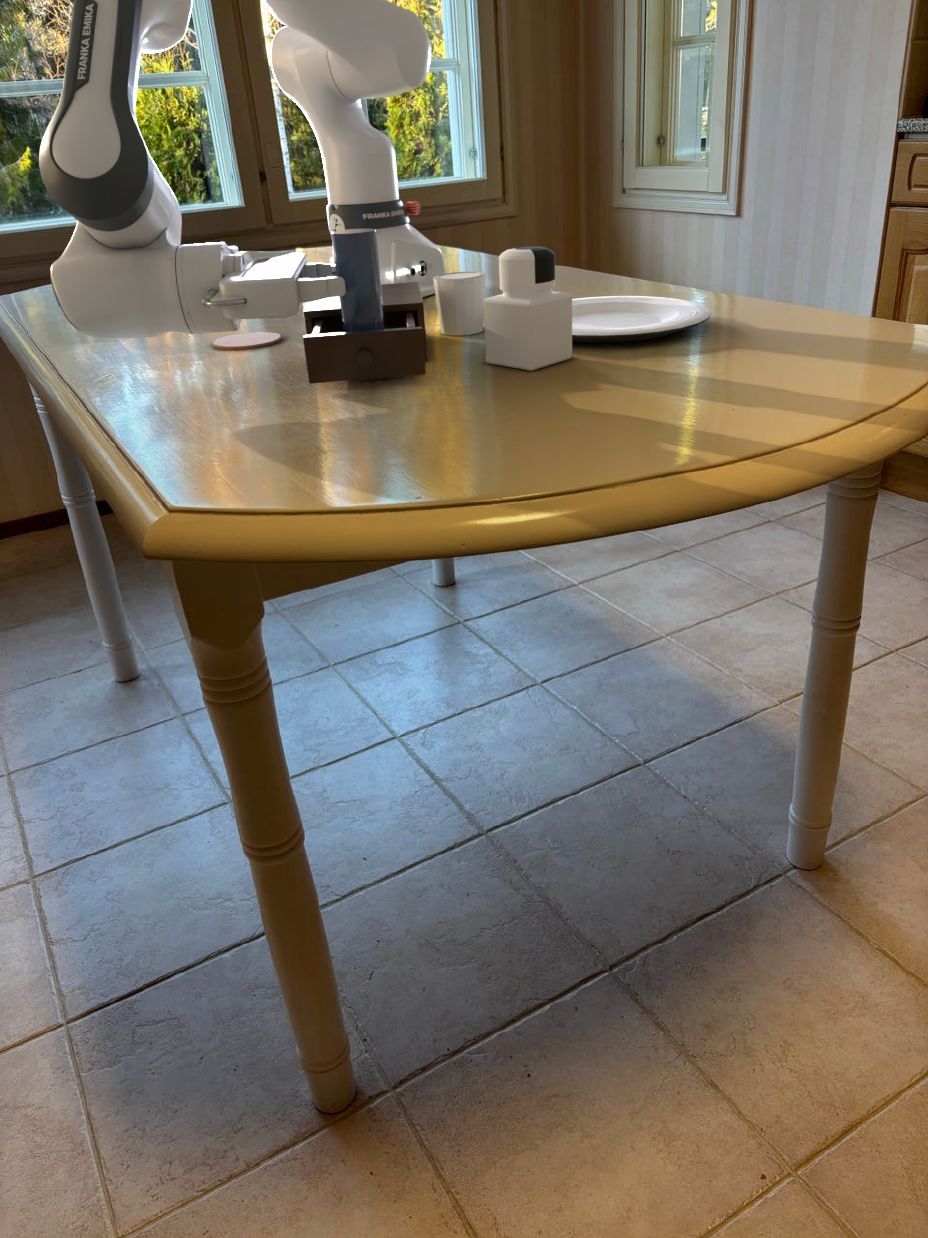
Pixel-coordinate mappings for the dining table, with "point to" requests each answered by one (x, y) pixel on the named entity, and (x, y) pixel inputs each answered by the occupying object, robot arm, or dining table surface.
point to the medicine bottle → (528, 312)
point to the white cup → (460, 302)
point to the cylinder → (359, 279)
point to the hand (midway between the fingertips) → (346, 278)
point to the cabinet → (393, 301)
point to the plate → (632, 318)
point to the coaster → (247, 340)
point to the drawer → (364, 350)
